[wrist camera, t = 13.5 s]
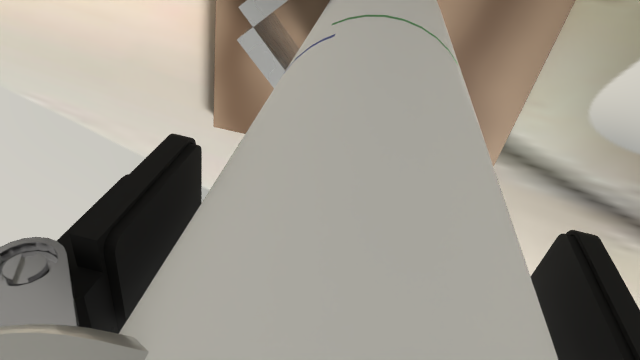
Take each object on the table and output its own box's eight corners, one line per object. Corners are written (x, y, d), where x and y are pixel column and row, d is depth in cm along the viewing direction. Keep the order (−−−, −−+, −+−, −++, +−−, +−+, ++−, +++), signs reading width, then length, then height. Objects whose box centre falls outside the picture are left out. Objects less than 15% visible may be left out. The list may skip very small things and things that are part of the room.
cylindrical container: (299, 15, 25) (-111, 521, 5) (405, -62, 22) (464, 447, 2) (361, 108, 28) (260, 676, 8) (463, 52, 25) (734, 746, 5)
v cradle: (621, -115, 21) (678, -117, 16) (480, 178, 31) (493, 223, 27) (227, -194, 21) (185, -215, 17) (219, 119, 32) (191, 154, 28)
